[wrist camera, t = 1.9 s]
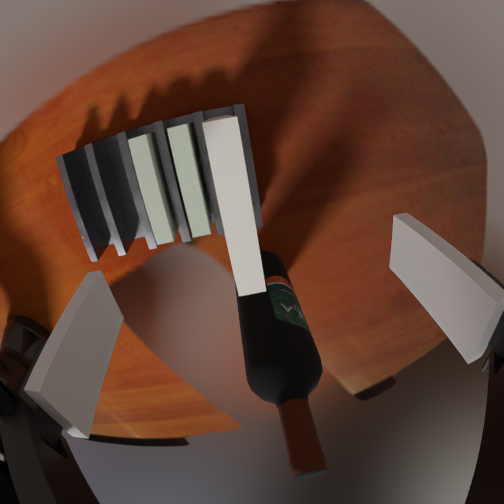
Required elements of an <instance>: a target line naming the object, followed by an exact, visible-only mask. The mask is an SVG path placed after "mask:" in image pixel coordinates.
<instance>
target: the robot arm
mask: <svg viewBox="0 0 504 504" xmlns="http://www.w3.org/2000/svg"><path fill="white" fill-rule="evenodd" d="M389 267H390V269H391V270H392V271H393V272H394V273H395V274H396V275H397V276H398V277H399V279H400V280H401V281H402V282H403V283H404V284H405V285H406V286H407V288H408V289H409V290H410V291H411V292H412V293H413V295H414V296H415V297H416V298H417V299H418V300H419V302H420V303H421V304H422V305H423V306H424V308H425V309H426V310H427V311H428V312H429V314H430V315H431V316H432V317H433V319H434V320H435V321H436V322H437V324H438V325H439V326H440V327H441V329H442V330H443V331H444V332H445V334H446V335H447V336H448V338H449V339H450V340H451V342H452V343H453V344H454V345H455V347H456V348H457V349H458V351H459V352H460V353H461V355H462V356H463V357H464V359H465V360H466V362H467V363H468V364H469V363H471V362H473V361H475V360H476V359H478V358H480V357H481V356H482V355H483V353H484V351H485V349H486V347H487V346H488V344H489V346H490V347H491V348H492V351H491V352H490V354H489V356H488V358H487V360H486V361H485V363H484V365H483V367H482V371H484V370H485V368H486V366H487V365H488V364H489V369H488V370H487V372H489V379H488V380H489V381H488V395H487V405H486V414H485V422H484V428H483V434H482V440H481V445H480V450H479V455H478V459H477V464H476V468H475V472H474V475H473V479H472V483H471V486H470V489H469V493H468V496H467V499H466V502H465V504H504V285H503V284H502V283H501V282H500V281H499V280H497V279H496V278H495V277H493V276H492V274H491V273H489V272H488V271H486V269H485V268H484V267H483V266H481V265H480V264H479V263H478V262H476V261H474V260H472V259H470V258H468V257H465V256H464V255H463V254H462V253H460V252H459V251H458V250H457V249H455V248H454V247H453V246H452V245H450V244H449V243H448V242H447V241H445V240H444V239H443V238H441V237H440V236H439V235H437V234H436V233H435V232H433V231H432V230H431V229H429V228H428V227H426V226H425V225H424V224H422V223H421V222H419V221H418V220H417V219H415V218H414V217H412V216H411V215H409V214H408V213H403V214H397V215H394V217H393V234H392V246H391V257H390V266H389ZM123 319H124V317H123V315H122V313H121V311H120V309H119V307H118V305H117V303H116V301H115V299H114V298H113V295H112V293H111V291H110V289H109V287H108V284H107V282H106V280H105V278H104V276H103V273H102V271H101V270H99V271H95V272H90V273H87V275H86V276H85V278H84V279H83V281H82V282H81V284H80V285H79V287H78V289H77V290H76V292H75V293H74V295H73V297H72V298H71V300H70V302H69V303H68V305H67V307H66V308H65V310H64V312H63V313H62V315H61V317H60V319H59V320H58V322H57V324H56V326H55V328H54V329H53V331H52V333H51V335H50V334H49V333H48V332H47V331H46V330H45V329H44V328H43V327H41V326H40V325H39V324H37V323H36V322H34V321H32V320H30V319H27V318H24V317H13V318H11V319H10V320H9V322H8V323H7V325H6V327H5V329H4V334H3V338H2V342H1V347H0V453H1V454H2V455H3V456H4V461H1V460H0V504H100V503H99V502H98V500H97V498H96V497H95V495H94V493H93V492H92V490H91V488H90V486H89V485H88V483H87V481H86V479H85V478H84V476H83V474H82V472H81V470H80V468H79V466H78V464H77V462H76V460H75V459H74V456H73V454H72V452H71V450H70V448H69V445H68V443H67V441H66V439H65V438H64V437H63V436H62V435H61V433H62V429H64V430H66V431H67V432H68V433H69V434H70V435H71V436H73V437H80V438H87V439H89V435H90V430H91V426H92V422H93V418H94V414H95V410H96V406H97V402H98V398H99V395H100V391H101V387H102V384H103V380H104V377H105V374H106V370H107V367H108V364H109V361H110V357H111V354H112V351H113V348H114V345H115V342H116V339H117V336H118V333H119V330H120V327H121V325H122V322H123Z"/></svg>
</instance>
